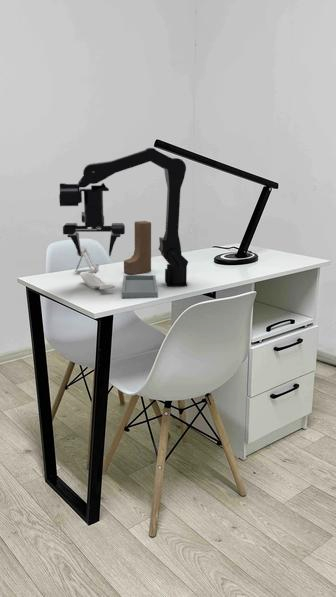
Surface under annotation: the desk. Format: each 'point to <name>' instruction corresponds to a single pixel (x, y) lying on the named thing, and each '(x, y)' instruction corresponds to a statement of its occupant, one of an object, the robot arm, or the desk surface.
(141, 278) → the razor tray
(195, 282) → the desk surface
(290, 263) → the desk surface
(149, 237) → the brown boot
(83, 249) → the portable electronic device stand
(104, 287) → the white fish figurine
